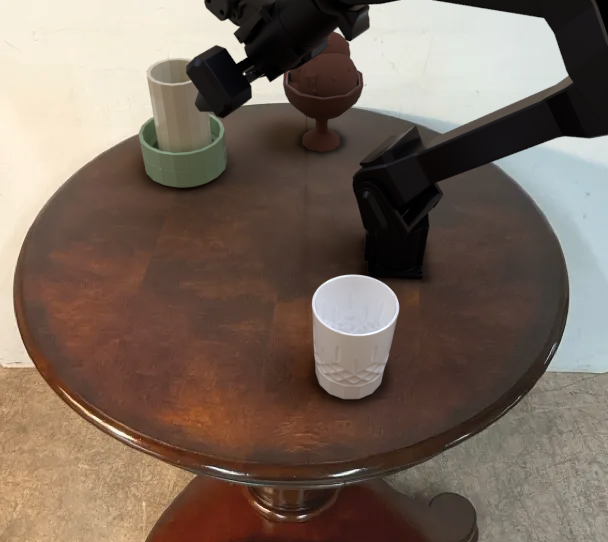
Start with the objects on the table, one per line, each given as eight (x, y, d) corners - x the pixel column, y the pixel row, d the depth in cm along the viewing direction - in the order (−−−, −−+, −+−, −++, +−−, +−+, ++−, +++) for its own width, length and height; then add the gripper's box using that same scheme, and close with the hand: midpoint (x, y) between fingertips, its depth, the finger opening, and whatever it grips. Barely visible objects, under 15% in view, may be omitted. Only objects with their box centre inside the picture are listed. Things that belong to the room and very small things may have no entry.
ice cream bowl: (273, 128, 101) (271, 24, 90) (345, 117, 104) (351, 14, 93) (294, 167, 95) (294, 61, 84) (370, 154, 97) (380, 49, 86)
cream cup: (223, 167, 94) (214, 74, 84) (176, 183, 91) (162, 90, 81) (197, 143, 97) (187, 52, 88) (152, 159, 95) (136, 67, 85)
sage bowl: (232, 146, 98) (229, 111, 94) (220, 193, 90) (216, 156, 86) (155, 143, 98) (149, 107, 94) (137, 189, 91) (130, 152, 87)
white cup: (382, 411, 67) (393, 341, 60) (303, 397, 68) (304, 327, 61) (392, 351, 72) (403, 280, 65) (318, 339, 73) (320, 269, 66)
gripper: (308, -81, 72) (232, 3, 84) (189, -26, 62) (122, 60, 74) (366, 15, 75) (285, 82, 87) (263, 83, 65) (186, 149, 77)
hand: (223, 91), depth 81 cm, fingers open, 9 cm apart
